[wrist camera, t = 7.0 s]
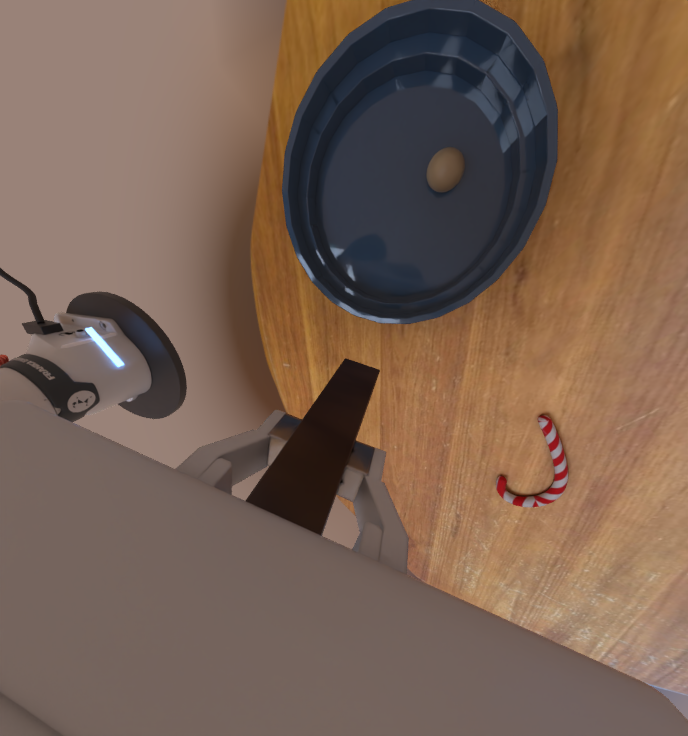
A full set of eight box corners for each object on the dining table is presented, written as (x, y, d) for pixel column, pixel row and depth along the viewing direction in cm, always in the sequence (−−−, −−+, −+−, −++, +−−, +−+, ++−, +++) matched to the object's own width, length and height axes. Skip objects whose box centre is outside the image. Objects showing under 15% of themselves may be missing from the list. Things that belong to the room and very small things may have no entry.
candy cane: (583, 420, 27) (563, 513, 33) (577, 413, 29) (558, 504, 34) (501, 419, 30) (496, 505, 36) (499, 413, 31) (494, 498, 37)
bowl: (293, 285, 31) (274, 291, 27) (322, 32, 21) (297, -20, 17) (464, 335, 28) (471, 350, 24) (593, 67, 18) (644, 14, 14)
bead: (421, 191, 23) (421, 184, 21) (433, 150, 22) (435, 137, 19) (453, 198, 23) (457, 192, 20) (468, 157, 21) (474, 145, 19)
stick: (337, 387, 18) (146, 700, 5) (345, 357, 16) (123, 672, 4) (369, 399, 17) (242, 759, 5) (380, 369, 16) (245, 747, 4)
